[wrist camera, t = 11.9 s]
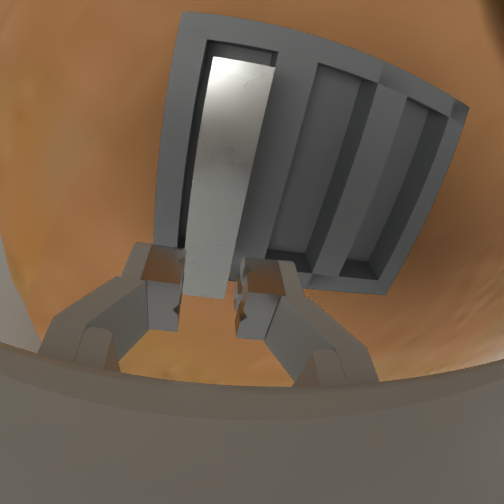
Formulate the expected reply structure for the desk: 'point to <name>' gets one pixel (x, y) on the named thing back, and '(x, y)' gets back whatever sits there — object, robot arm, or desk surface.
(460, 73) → the desk surface
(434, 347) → the desk surface
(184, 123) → the rack
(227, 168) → the panel
